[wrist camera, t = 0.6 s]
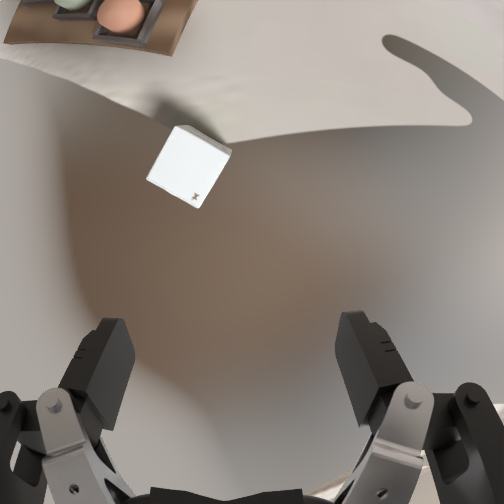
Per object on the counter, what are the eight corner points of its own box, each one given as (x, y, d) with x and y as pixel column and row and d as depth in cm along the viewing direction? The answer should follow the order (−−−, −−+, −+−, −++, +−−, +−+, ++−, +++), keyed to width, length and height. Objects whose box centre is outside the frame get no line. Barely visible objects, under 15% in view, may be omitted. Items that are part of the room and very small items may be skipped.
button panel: (41, -23, 17) (28, -30, 13) (209, -23, 22) (207, -37, 18) (10, 44, 21) (-6, 41, 18) (171, 56, 27) (163, 48, 23)
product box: (233, 149, 32) (232, 156, 25) (206, 193, 34) (198, 211, 27) (188, 123, 30) (174, 123, 24) (162, 168, 32) (144, 180, 26)
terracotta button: (117, 0, 20) (107, -9, 17) (151, 2, 20) (143, -8, 18) (102, 32, 21) (90, 26, 19) (135, 35, 22) (126, 28, 19)
